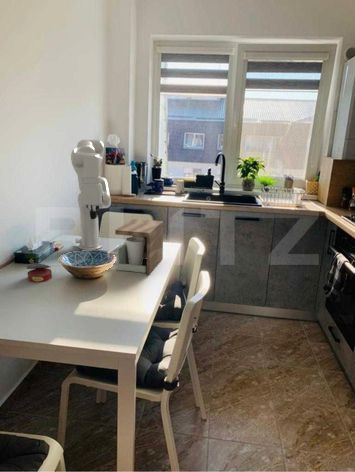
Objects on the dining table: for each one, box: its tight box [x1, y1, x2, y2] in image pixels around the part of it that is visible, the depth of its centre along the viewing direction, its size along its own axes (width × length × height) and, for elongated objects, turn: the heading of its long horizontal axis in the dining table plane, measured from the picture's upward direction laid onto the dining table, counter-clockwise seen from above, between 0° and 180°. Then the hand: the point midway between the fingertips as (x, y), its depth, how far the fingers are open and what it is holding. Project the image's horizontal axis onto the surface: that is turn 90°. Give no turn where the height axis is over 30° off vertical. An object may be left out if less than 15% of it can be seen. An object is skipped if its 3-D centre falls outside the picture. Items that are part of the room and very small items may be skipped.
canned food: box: [26, 262, 53, 283], centre depth 156 cm, size 11×10×10 cm
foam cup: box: [125, 236, 145, 266], centre depth 175 cm, size 10×9×13 cm
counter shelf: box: [114, 218, 164, 276], centre depth 173 cm, size 16×24×20 cm, turn 168°
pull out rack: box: [106, 241, 147, 274], centre depth 175 cm, size 20×20×10 cm
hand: (93, 218), depth 175 cm, fingers closed
